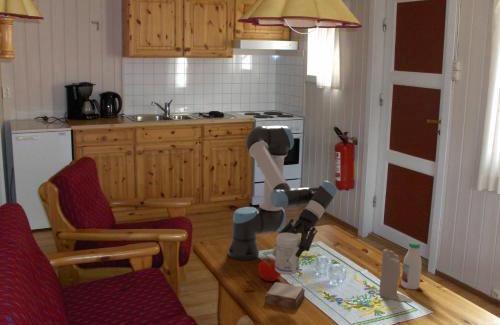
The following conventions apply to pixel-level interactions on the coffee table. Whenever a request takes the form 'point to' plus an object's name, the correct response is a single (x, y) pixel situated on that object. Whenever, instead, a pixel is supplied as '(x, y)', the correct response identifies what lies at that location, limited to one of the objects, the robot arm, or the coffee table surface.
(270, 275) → the tomato
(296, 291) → the plinth
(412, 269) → the milk bottle
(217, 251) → the coffee table surface
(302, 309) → the coffee table surface
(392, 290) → the beige bookend
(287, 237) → the supplement tub
